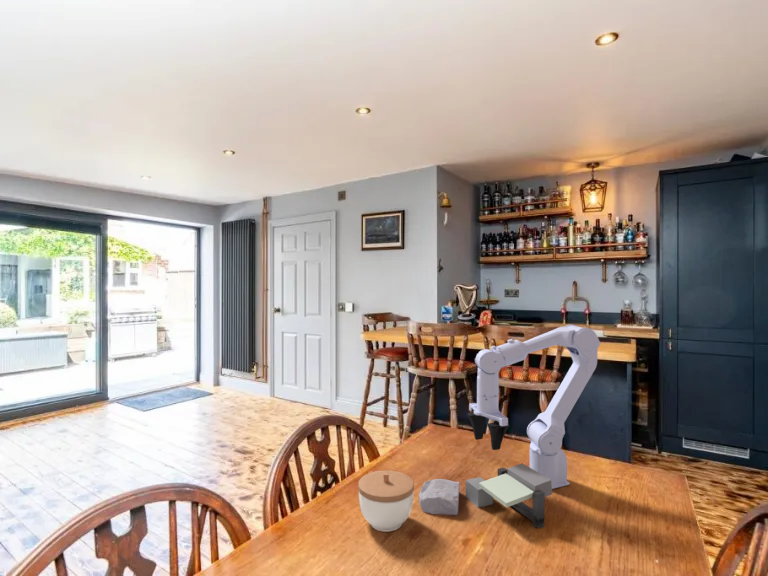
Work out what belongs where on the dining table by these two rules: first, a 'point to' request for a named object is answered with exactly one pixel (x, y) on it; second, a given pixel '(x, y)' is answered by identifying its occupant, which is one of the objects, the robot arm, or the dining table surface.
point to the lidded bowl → (386, 499)
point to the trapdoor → (516, 485)
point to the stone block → (440, 497)
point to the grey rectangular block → (477, 493)
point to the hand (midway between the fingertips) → (487, 444)
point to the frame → (538, 506)
